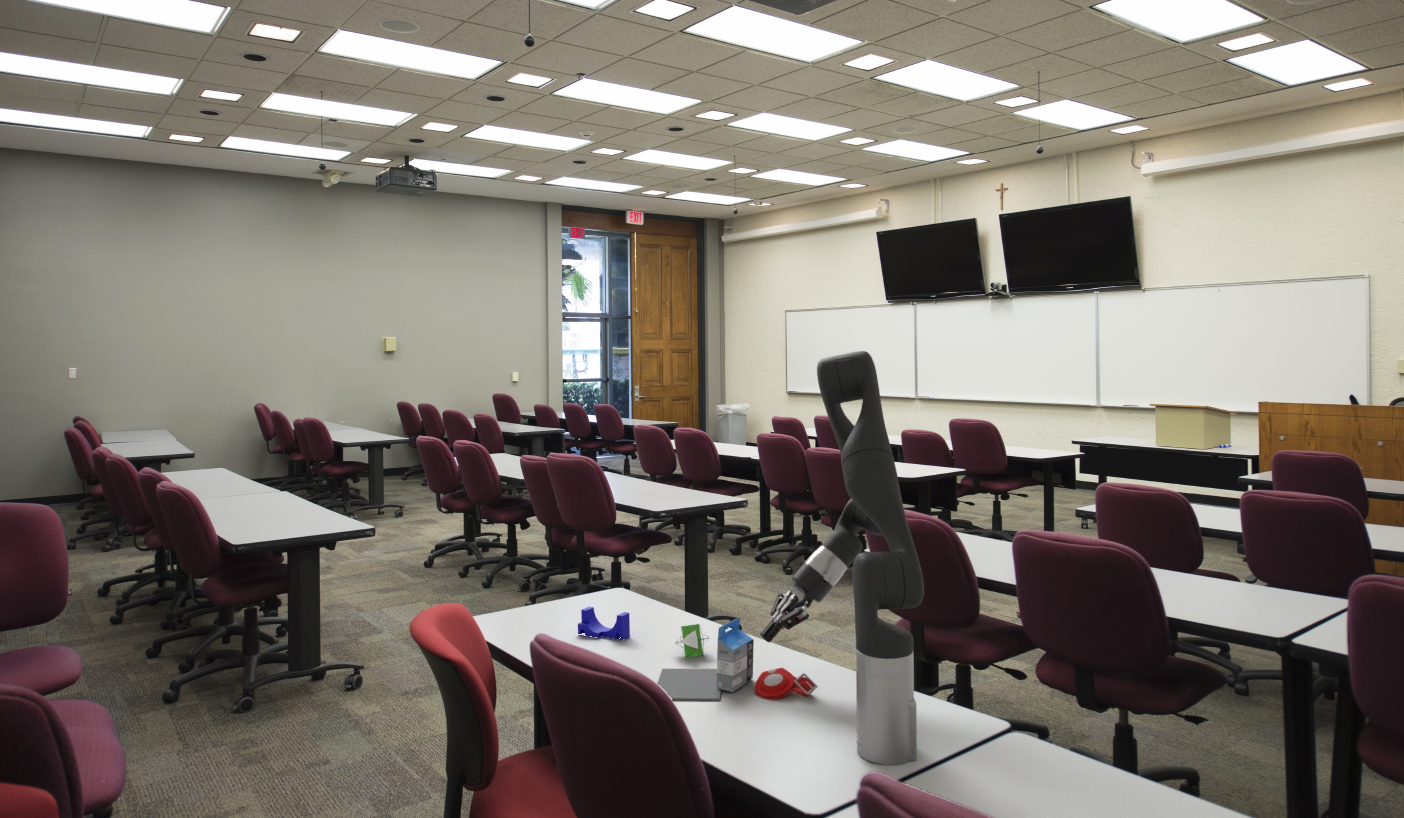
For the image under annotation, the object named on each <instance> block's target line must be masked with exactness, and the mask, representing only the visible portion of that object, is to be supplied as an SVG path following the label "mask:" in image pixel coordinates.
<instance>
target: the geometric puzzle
mask: <svg viewBox="0 0 1404 818" xmlns="http://www.w3.org/2000/svg"><path fill="white" fill-rule="evenodd" d="M701 628H702V627H701V625H700V623H698V624H688V625H681V626H680V629H681V636H680V638H679V639H678V637H676V638H677V639H678V640H676V641H675V643H674V644H675V645H676V646H677V647H678V648H679V649H680V647H681V648H682V651H683V653H682V654H683V655H684V657H685V658H689V657H697V656H704V650H706V648H707V647H705V648H704V646H705V645H704V644H705V642H704V641H705V640H709V637H707V636H706V634H703V632H702V629H703V628H702V629H701ZM704 633H706V632H705V631H704ZM703 635H704V636H705V638H704V636H703ZM702 642H703V643H702ZM679 643H680V644H681V645H680V644H679ZM682 644H683V645H682Z"/></svg>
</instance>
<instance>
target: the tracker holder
mask: <svg viewBox="0 0 1404 818" xmlns="http://www.w3.org/2000/svg"><path fill="white" fill-rule="evenodd" d="M753 688H754V692H755V694H756V695H757V696H758V697H760V698H762V699H767V700H777V699H781V698H784V697H786V696H787V695H789V694H790V693H791V692H794V693H796V694H798V695H801V696H803V697H808V696H810V695H811V694H812V693H813V692H814V691H815V690H817V688H818V685H817V684H816V682H815V681H813V680H812V679H811V678H810V677H809V676H808V675H807V673H805V672H803V673H801V675H799V676H798V677H796V676H794V674H793V673H791V672H789V670H787V669H785V667H777V668H771V669H769V670H765V671H762V672H761V673H760V675H759V676H758V678H757V680H756V681H755V684H754V687H753Z"/></svg>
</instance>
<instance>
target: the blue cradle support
mask: <svg viewBox="0 0 1404 818" xmlns="http://www.w3.org/2000/svg"><path fill="white" fill-rule="evenodd" d="M580 612H581V622H579V623H577V635H578V634H582V633H585V635H586V636H592V637H597V638H599V637H601V636H603V637H601V638H605V637H609V638H608V639H611V638H614V639H613V640H617V639H619V638H620V637H621V638H620V639H621V640H620V641H622V640H623V639H625V640H627V639H629V638H630V637H631V629H630V628H631V626H630V623H631V622H630V620H631V619H630V612H626V611H624V612H621V613H619V614H617V615H616V620H615V623H614V625H613V627H607V626H605V625H603V624H602V623H601V622H600V621H599V619H598V618H597V616H596V612H595V608H594V607H593V606H587V607H584V608H582V609H581V610H580ZM628 637H629V638H628ZM597 638H596V639H597ZM626 638H627V639H626ZM599 639H600V638H599ZM623 641H624V640H623Z"/></svg>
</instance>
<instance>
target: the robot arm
mask: <svg viewBox="0 0 1404 818" xmlns="http://www.w3.org/2000/svg"><path fill="white" fill-rule="evenodd" d="M816 377H817V382H818V387H819V391H820V395H821V398H822V402H823V405H824V408H825V411H826V414H827V415H826V416H827V418H828V420H829V424H830V427H831V429H832V430H831V431H832V432H833V434H834V437H835V440H836V443H837V446H838V448H839V449H838V450H839V453H840V455H841V457H840V461H841V463H840V464H841V469H842V473H843V481H844V485H845V489H846V492H847V494H848V496H849V497H850V499H849V500H848V501H847V503H846V505H845V506H844V508H843V510H842V513H841V515H840V517H839V518H838V520H837V522H836V525H835V527H834V529H833V531H832V532H831V533H830V534H829V535H828V537H827V538H826V539H825V540H824V542H823V543H821V545H820V546H819V547H817V549H815V551H813V552H812V553H811V555H810V556H808V558H807V559H806V560H805V561H804V563H803V564H802V565H801V567H800V568H799V569H798V570H797V571H796V572H795V573H794V574H793V575H792V577H791V580H792V582H793V583H794V584H793V586H792V587H791V588H789V589H788V590H787V592H786V593H785V594H783V593H782V592H779V593H778V594H777V595H776V597H775V600H774V602H773V605H772V607H771V610H770V613H769V615H770V616H771V617H770V621H769V623H767V624H766V626H765V627H764V628H763V629H762V631H761V632H760V637H761V638H762V639H763V640H765V641H766V643H771V642H772V640H773V639H774V638H776V636H777V635H778V634H779V632H780V631H781V630H785V629H786V630H790V629H793V628H794V627H796V626H797V625H799V624H801V623H803V622H804V621H806V620H807V619H808V618H809V617H810V614H809V613H808V612H807V610H808V609H809V608H810V607H811V605H812V603H813V602H814V601H815V602H816V603H821V602H822V601H823V600H824V599H825V597H827V595H828V594H829V593H830V592H831V590H833V588H834V587H835V586H836V585H837V583H838V582H839V581H840V580H841V578H842V577H843V575H844V574H845V572H846V571H847V570H848V568H849V567H851V565H852V589H853V600H854V601H853V603H854V605H853V606H854V626H855V627H854V629H855V630H854V631H855V680H856V681H855V683H856V688H855V690H856V691H855V692H856V695H855V696H856V752H857V753H858V755H859V756H860V757H862V758H863V759H865V760H867V761H869V762H872V763H876V764H881V765H900V764H905V763H907V762H909V761H914V762H915V761H917V760H918V754H917V753H918V749H917V748H918V745H917V744H918V742H917V741H918V740H917V738H918V737H917V734H918V733H917V731H918V730H917V725H918V724H917V722H918V721H917V719H918V718H917V715H918V714H917V702H916V699H915V697H914V696H915V690H914V689H915V681H914V680H915V679H914V678H915V677H914V676H915V675H914V674H915V671H914V667H915V666H914V663H915V661H914V658H915V657H914V650H915V649H914V646H915V645H914V636H913V634H912V633H911V631H909V630H908V629H906V628H904V627H902V626H901V625H897V624H894V623H890V622H888V621H886V620H883V619H881V618H880V617H879V615H878V614H879V613H878V612H879V610H901V609H903V610H904V609H905V610H906V609H913V608H917V607H919V606H920V605H921V604H922V602H923V600H924V594H925V583H924V576H923V575H924V574H923V570H922V567H921V563H920V559H919V556H918V552H917V549H916V546H915V542H914V539H913V537H912V533H911V530H910V526H909V523H908V520H907V517H906V512H905V508H904V504H903V498H902V493H901V488H900V484H899V483H900V482H899V478H898V471H897V468H896V463H895V457H894V455H893V451H892V446H891V443H890V439H889V435H888V432H887V431H888V430H887V427H886V423H885V418H884V417H885V416H884V412H883V405H882V399H881V394H880V387H879V379H878V374H877V369H876V366H875V362H874V360H873V357H872V356H871V354H870V353H869V352H867V351H865V350H859V351H853V352H848V353H841V354H837V355H832V356H828V357H824V358H821V359H819V361H818V362H817V365H816ZM859 400H862V403H861V409H860V413H859V416H858V418H857V419H856V422H855V424H853V422H852V421H851V420H850V419H849V418H848V417H847V415H846V414H845V412H844V410H843V408H842V404H844V403H848V402H849V403H850V402H854V401H859ZM861 528H862V529H863V530H865V531H867V532H869V533H870V534H872V535H875V536H882V537H884V540H885V541H886V543H887V546H888V548H889V551H868V552H867V551H866V552H865V551H864V552H862V550H863V543H862V542H861V540H860V539H859V538H858V535H859V532H860V530H862V529H861ZM904 762H905V763H904Z"/></svg>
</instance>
